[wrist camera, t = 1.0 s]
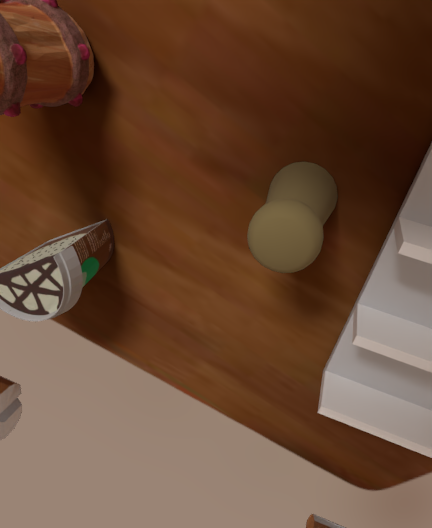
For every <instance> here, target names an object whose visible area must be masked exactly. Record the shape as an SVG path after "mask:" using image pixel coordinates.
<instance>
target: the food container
mask: <svg viewBox="0 0 432 528" xmlns="http://www.w3.org/2000/svg"><path fill="white" fill-rule="evenodd" d="M113 250H114V236H113V231H112V228H111V225H110V223H109V221H108V219H106V220H104V221H101V222H98V223H95V224H93V225H90V226H87V227H84V228H82V229H79V230H76V231H74V232H71V233H68V234H65V235H63V236H60V237H57V238H54V239H52V240H49V241H47V242H45V243H44V244H42V245H40V246H39V247H37V248H35V249H33V250H32V251H30V252H28V253H26V254H25V255H23V256H21V257H20V258H18V259H16V260H14V261H13V262H11V263H9V264H8V265H6V266H4V267H2V268H1V269H0V309H1V310H3V311H5V312H6V313H8V314H10V315H12V316H14V317H17V318H20V319H22V320H27V321H42V320H46V319H51V318H54V317H56V316H58V315H60V314H62V313H64V312H66V311H68V310H69V309H71V308H72V307H73V306H74V305H75V304H76V303H77V301H78V299H79V297H80V295H81V291H82V288H83V287H84V286H85V284H86V283H87V282H88V281H89V280H90V279H91V278H92V277H93V276H94V275H95V274H96V273H97V272H98V271H99V270H100V269H101V268H102V267H103V266H104V265H105V264H106V263H107V262H108V261H109V260H110V258H111V256H112V253H113Z"/></svg>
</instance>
